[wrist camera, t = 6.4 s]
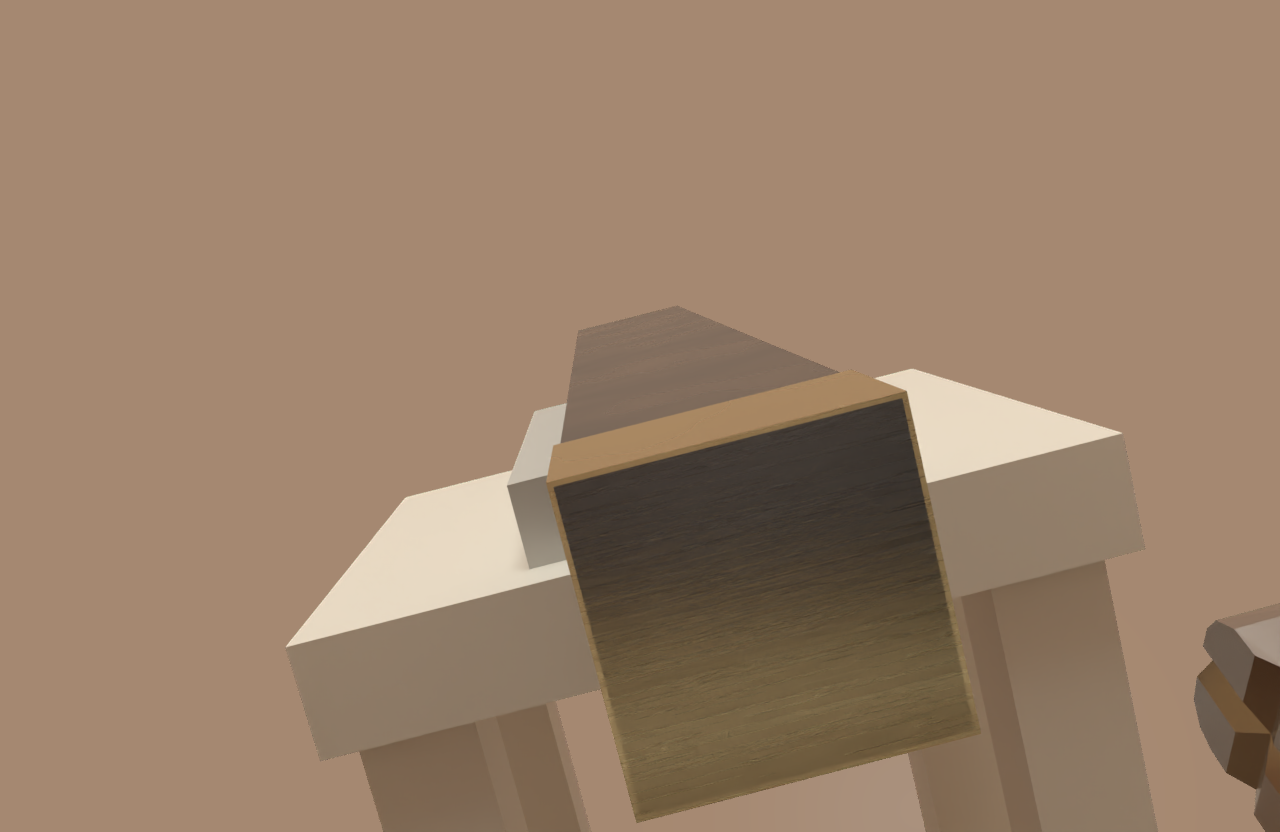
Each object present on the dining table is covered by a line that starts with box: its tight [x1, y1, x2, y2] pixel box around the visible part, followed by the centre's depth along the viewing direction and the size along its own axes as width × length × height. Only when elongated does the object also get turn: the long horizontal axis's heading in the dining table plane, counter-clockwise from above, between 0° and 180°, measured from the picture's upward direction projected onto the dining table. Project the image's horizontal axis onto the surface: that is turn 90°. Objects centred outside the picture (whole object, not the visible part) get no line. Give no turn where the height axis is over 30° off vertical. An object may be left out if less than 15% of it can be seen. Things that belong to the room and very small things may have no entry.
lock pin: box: [546, 306, 981, 823], centre depth 21 cm, size 3×24×3 cm, turn 3°
